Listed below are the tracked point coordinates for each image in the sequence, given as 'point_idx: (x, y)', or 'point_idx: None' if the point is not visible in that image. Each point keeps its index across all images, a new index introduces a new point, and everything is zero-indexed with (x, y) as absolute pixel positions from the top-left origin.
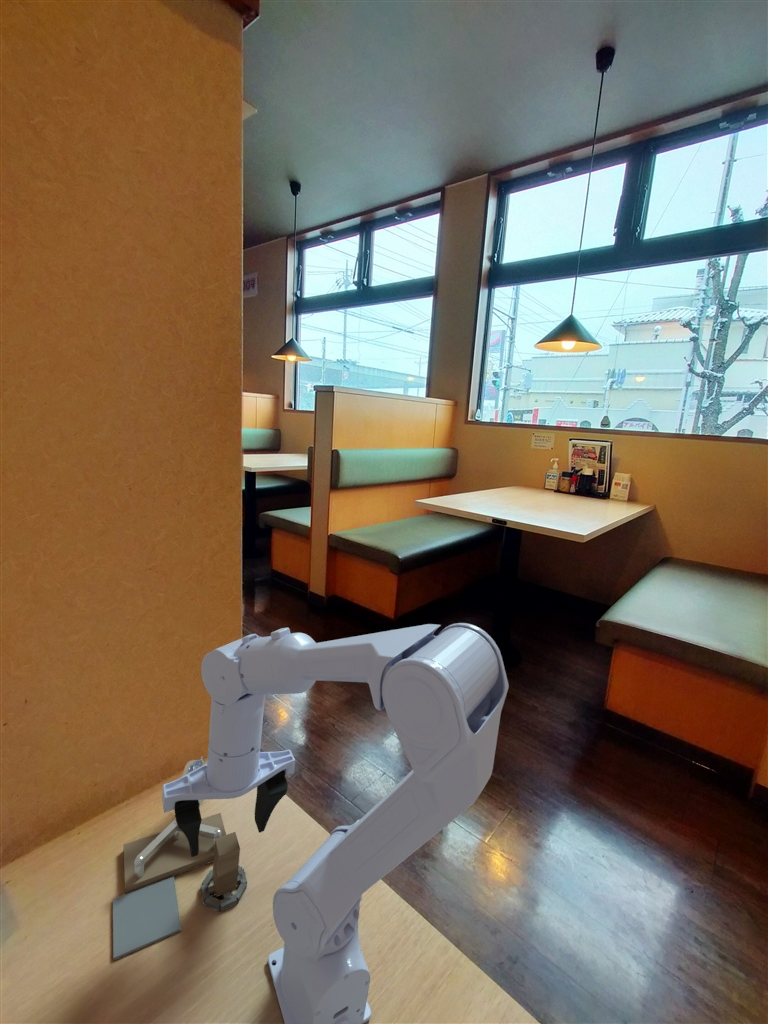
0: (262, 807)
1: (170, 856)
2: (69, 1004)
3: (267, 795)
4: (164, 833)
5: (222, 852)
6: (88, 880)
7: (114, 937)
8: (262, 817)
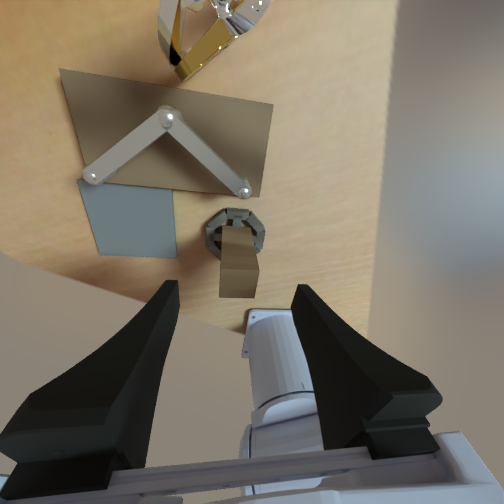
0: (312, 355)
1: (163, 160)
2: (64, 270)
3: (326, 437)
4: (137, 140)
5: (226, 293)
6: (15, 111)
7: (95, 233)
8: (302, 345)
